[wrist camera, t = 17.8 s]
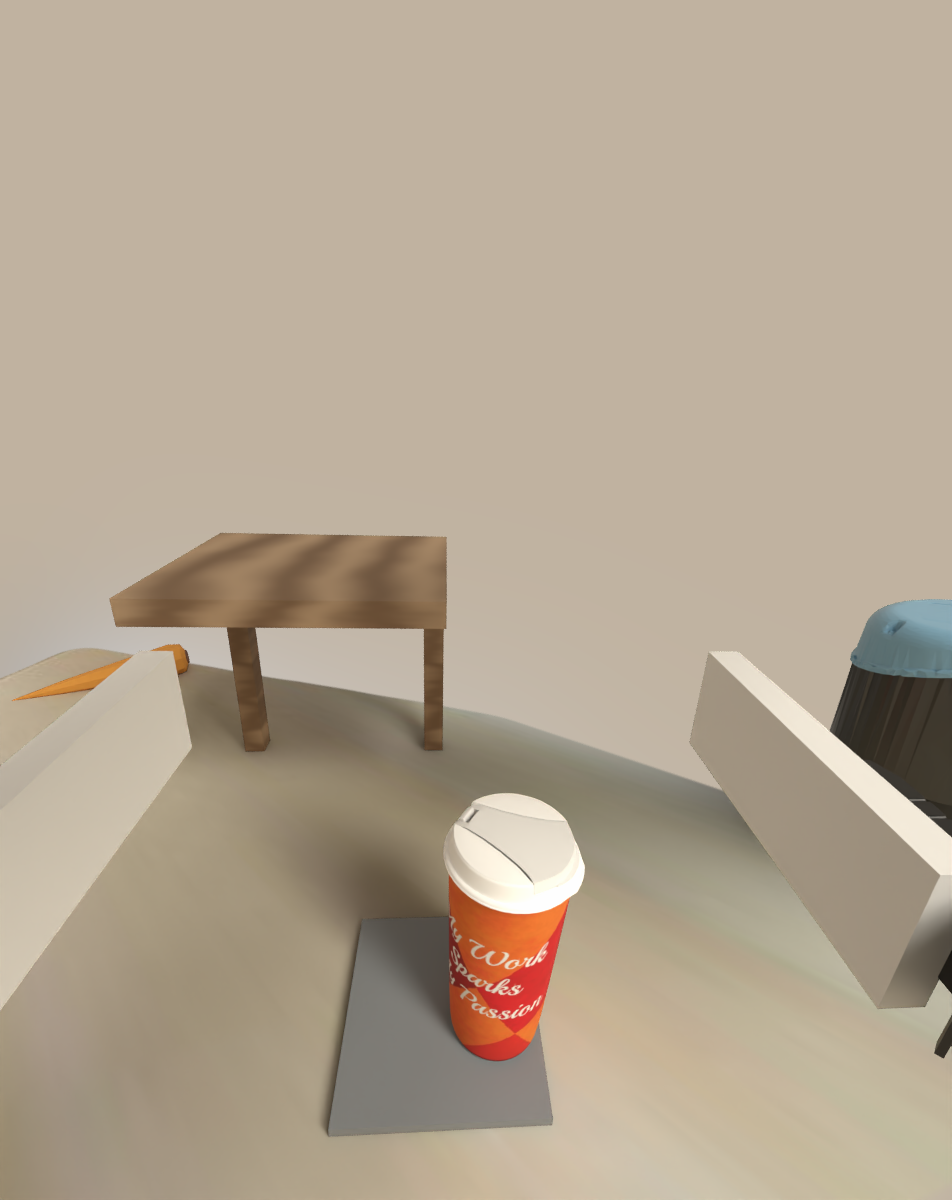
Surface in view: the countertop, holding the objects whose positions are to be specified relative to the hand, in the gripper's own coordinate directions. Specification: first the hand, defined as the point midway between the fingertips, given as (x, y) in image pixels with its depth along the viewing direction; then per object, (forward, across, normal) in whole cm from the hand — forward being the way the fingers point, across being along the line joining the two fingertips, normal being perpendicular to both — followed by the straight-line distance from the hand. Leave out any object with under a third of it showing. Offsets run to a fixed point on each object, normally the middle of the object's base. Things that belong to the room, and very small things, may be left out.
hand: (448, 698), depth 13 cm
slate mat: (+11, 0, -30) cm, 32 cm away
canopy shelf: (+31, -11, -30) cm, 44 cm away
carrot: (+52, -45, -30) cm, 76 cm away
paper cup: (+10, +3, -29) cm, 31 cm away
